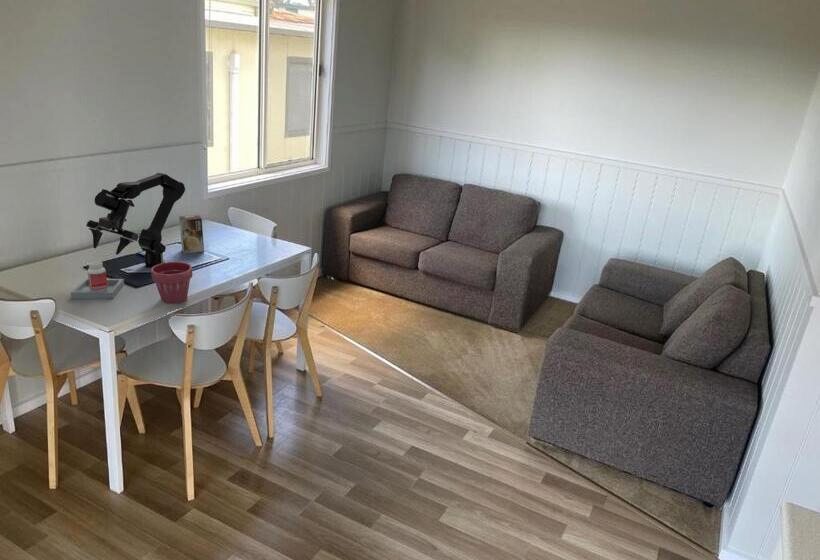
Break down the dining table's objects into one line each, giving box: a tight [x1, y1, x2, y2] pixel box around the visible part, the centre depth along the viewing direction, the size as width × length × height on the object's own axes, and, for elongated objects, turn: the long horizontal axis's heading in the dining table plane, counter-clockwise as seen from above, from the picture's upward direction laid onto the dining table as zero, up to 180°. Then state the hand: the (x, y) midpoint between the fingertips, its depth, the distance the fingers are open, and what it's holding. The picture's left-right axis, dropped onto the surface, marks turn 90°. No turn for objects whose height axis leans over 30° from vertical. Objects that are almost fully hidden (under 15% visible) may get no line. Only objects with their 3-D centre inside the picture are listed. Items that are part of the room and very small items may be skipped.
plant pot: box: [150, 261, 193, 305], centre depth 231 cm, size 14×14×13 cm
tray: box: [70, 278, 125, 300], centre depth 236 cm, size 14×14×2 cm
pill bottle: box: [87, 260, 108, 292], centre depth 234 cm, size 6×6×11 cm
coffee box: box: [178, 215, 205, 255], centre depth 284 cm, size 9×6×16 cm
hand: (105, 251), depth 242 cm, fingers open, 9 cm apart
